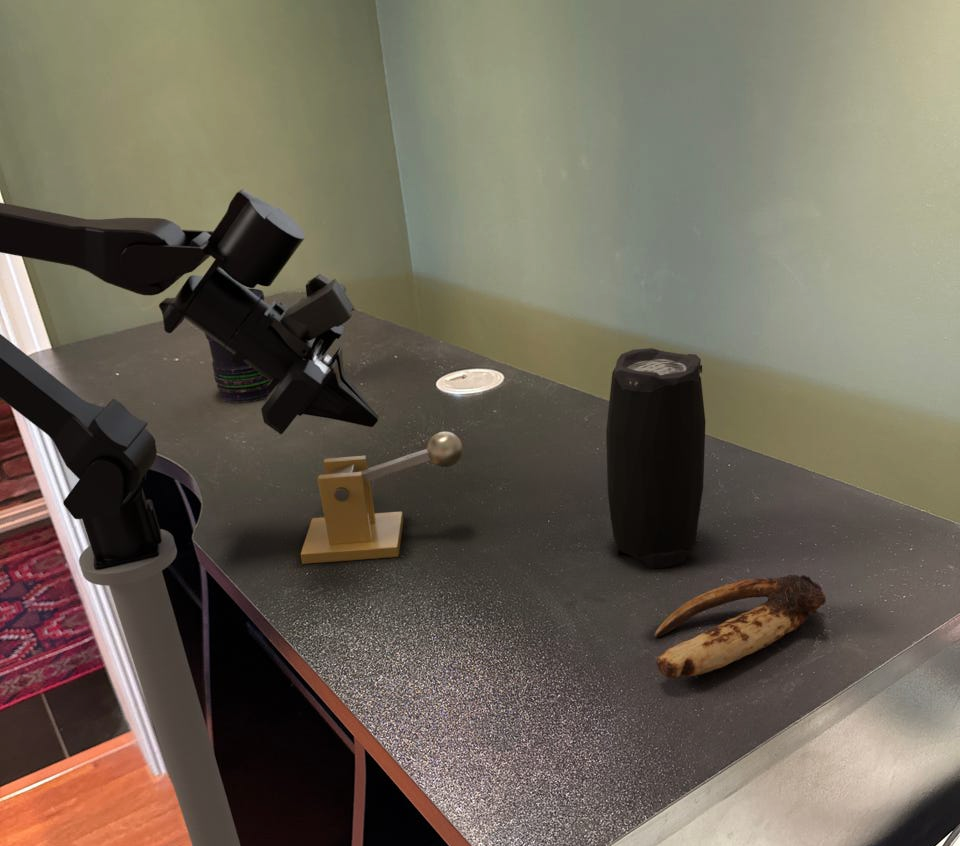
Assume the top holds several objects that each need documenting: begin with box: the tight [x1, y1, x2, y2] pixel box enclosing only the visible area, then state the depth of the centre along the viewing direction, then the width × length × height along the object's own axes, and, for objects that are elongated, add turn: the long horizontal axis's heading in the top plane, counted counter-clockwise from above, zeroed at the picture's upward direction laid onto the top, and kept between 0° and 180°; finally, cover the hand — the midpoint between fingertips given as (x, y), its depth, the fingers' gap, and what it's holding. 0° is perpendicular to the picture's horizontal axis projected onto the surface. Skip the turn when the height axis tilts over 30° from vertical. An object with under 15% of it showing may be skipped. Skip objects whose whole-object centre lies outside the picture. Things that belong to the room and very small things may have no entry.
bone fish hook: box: [654, 574, 827, 679], centre depth 76 cm, size 9×5×18 cm
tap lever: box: [329, 431, 463, 483], centre depth 93 cm, size 14×4×4 cm, turn 90°
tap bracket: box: [300, 455, 405, 565], centre depth 95 cm, size 10×8×9 cm
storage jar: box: [203, 288, 272, 404], centre depth 139 cm, size 10×10×18 cm
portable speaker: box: [605, 347, 706, 570], centre depth 86 cm, size 9×9×20 cm
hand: (375, 422), depth 91 cm, fingers closed
